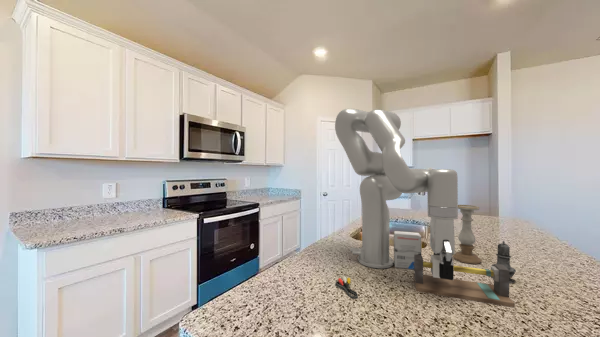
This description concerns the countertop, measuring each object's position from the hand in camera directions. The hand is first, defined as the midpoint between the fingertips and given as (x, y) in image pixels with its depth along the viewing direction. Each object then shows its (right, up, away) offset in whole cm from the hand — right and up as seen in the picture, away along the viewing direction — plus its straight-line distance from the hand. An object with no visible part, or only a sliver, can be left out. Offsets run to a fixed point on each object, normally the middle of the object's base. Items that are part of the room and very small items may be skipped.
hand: (442, 271), depth 70 cm
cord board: (+3, -5, -1) cm, 6 cm away
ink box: (-4, -5, +15) cm, 17 cm away
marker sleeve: (0, -1, 0) cm, 1 cm away
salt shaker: (+22, -5, +6) cm, 23 cm away
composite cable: (-28, -5, -1) cm, 29 cm away
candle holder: (+22, -5, +22) cm, 31 cm away
